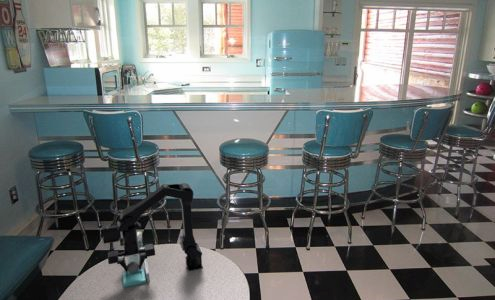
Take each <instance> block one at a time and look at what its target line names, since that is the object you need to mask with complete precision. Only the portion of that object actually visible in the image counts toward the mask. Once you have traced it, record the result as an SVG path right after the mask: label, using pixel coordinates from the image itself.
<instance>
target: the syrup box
mask: <svg viewBox="0 0 495 300" xmlns="http://www.w3.org/2000/svg"><path fill="white" fill-rule="evenodd" d="M137 239H138V249H140V248H144V242H143V233H142V231H140V230H139V231H138V230H137ZM126 260H127V262H126V263H127V265H128V264H129V263H131V262H137V263H138V264H139V254H138V255H133V256H128V257H126Z"/></svg>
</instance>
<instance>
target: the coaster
mask: <svg viewBox="0 0 495 300" xmlns="http://www.w3.org/2000/svg"><path fill="white" fill-rule="evenodd" d="M122 282H123V283H122V284H123V288H128V287H129V288H130V287H133V286H137V285H143V284H146V283H147V279H146V273H145V267H143V268H141V270H138V272H137V273H135V274H130V273H129V272H128V273H126V271H124V272H122Z"/></svg>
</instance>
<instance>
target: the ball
mask: <svg viewBox="0 0 495 300" xmlns="http://www.w3.org/2000/svg"><path fill="white" fill-rule="evenodd" d="M138 270H139V264H138V263H137V262H131V263H129V264H128V263H127V271H128V272H129V273H130V274H135V273H137V272H138Z"/></svg>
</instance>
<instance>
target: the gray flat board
mask: <svg viewBox="0 0 495 300" xmlns="http://www.w3.org/2000/svg"><path fill="white" fill-rule="evenodd" d="M143 264H144V265H143V266H144V271H145V278H146V283H149V282H150V281H151V280H150V279H151V278H150V270H149V265H148V258H147V259H145V260H144V262H143Z"/></svg>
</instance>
